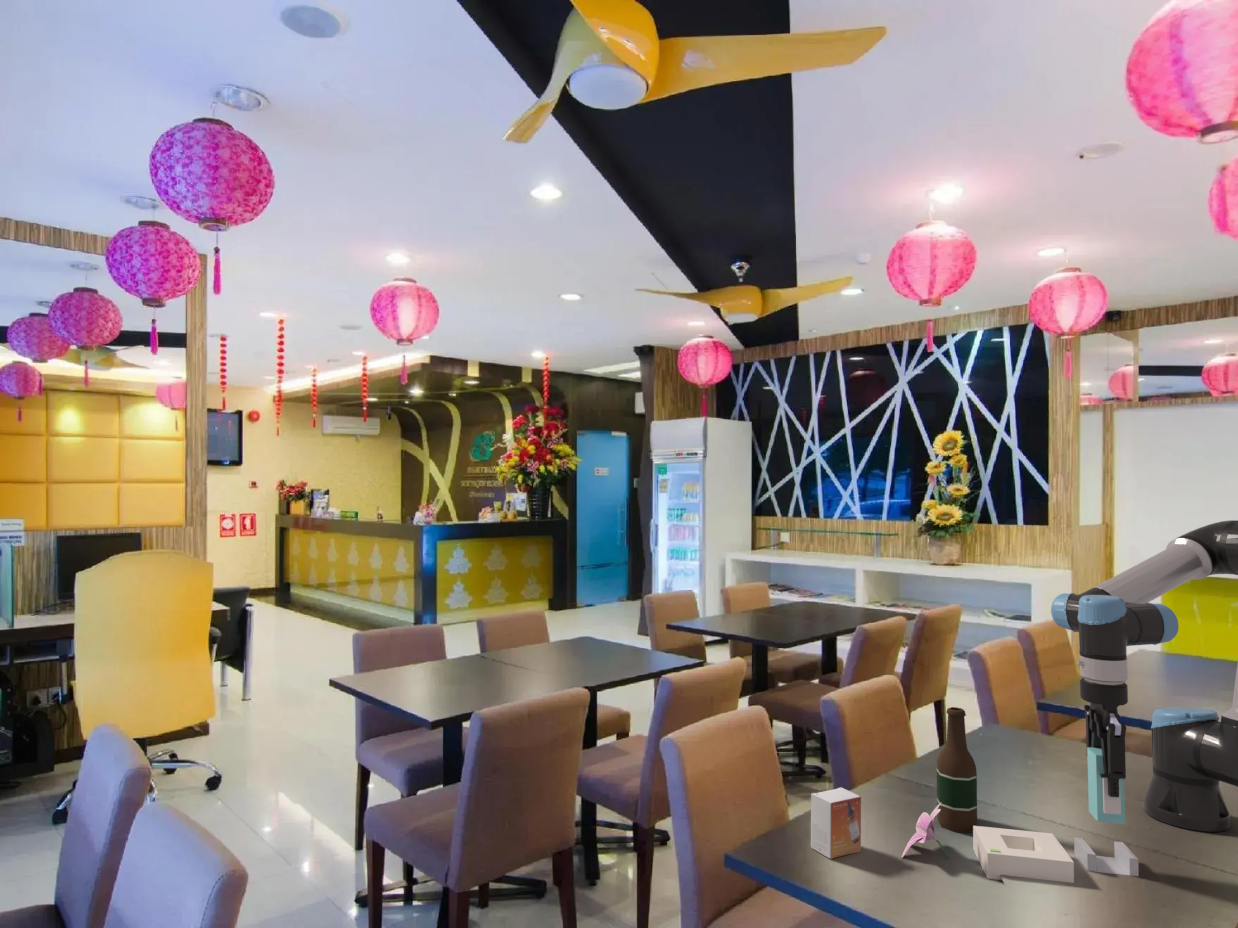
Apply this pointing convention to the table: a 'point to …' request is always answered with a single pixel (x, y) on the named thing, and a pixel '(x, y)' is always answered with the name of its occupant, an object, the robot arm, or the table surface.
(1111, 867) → the holster
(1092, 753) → the plug
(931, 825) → the lily
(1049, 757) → the table surface
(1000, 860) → the port
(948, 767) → the beer bottle
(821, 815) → the small box
